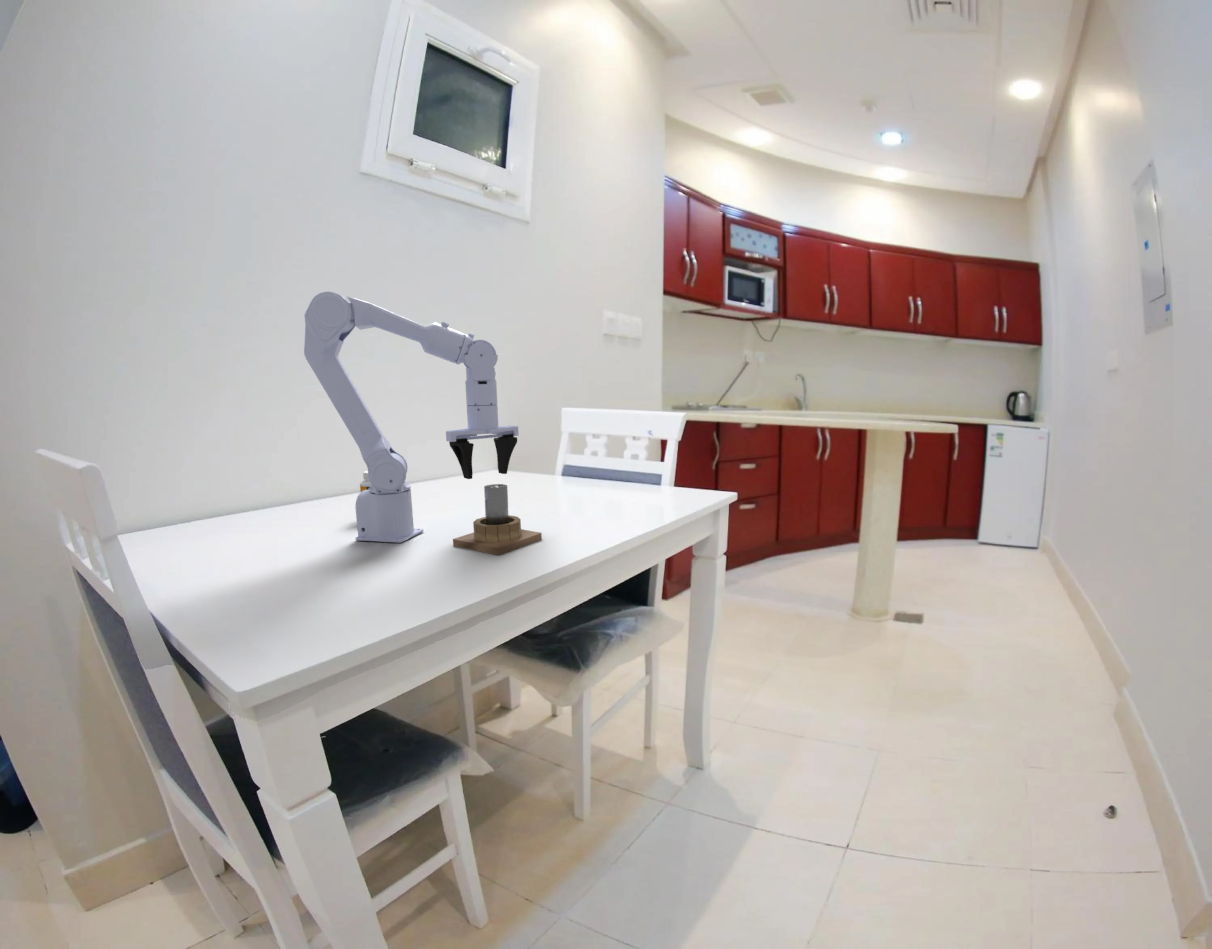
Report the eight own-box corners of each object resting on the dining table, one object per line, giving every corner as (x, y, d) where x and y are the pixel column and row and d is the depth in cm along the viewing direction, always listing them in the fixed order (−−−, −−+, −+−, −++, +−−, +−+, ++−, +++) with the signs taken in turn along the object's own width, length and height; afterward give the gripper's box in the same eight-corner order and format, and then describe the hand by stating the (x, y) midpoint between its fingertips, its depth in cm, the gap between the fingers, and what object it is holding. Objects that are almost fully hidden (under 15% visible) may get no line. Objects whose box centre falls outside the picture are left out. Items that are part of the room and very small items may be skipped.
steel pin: (482, 538, 99) (480, 487, 97) (492, 532, 103) (490, 483, 101) (503, 539, 98) (501, 488, 96) (512, 533, 102) (510, 484, 100)
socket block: (453, 545, 99) (451, 523, 98) (497, 531, 108) (496, 510, 107) (499, 555, 93) (497, 531, 92) (541, 539, 102) (540, 517, 101)
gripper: (457, 407, 99) (461, 483, 101) (526, 404, 108) (528, 473, 110) (439, 406, 104) (443, 478, 106) (506, 403, 113) (509, 469, 116)
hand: (485, 475), depth 109 cm, fingers open, 7 cm apart
